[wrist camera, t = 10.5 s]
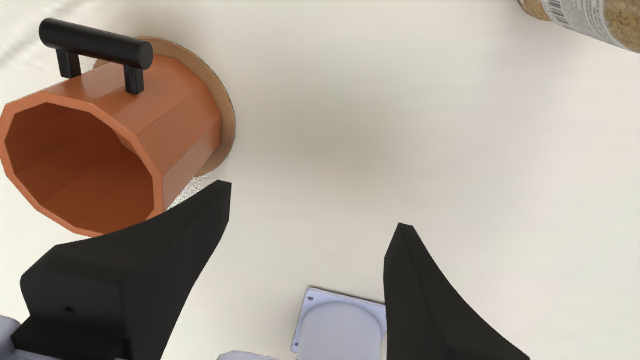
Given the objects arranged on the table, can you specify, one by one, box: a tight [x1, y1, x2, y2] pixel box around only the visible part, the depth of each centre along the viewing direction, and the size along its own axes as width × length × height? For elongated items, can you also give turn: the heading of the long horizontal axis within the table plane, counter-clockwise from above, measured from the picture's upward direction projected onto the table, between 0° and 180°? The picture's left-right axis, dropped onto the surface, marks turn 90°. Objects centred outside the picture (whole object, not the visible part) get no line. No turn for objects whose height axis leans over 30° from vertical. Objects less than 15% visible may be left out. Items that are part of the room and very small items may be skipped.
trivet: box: [93, 37, 235, 177], centre depth 24 cm, size 10×10×1 cm
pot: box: [0, 18, 221, 238], centre depth 20 cm, size 11×8×8 cm
